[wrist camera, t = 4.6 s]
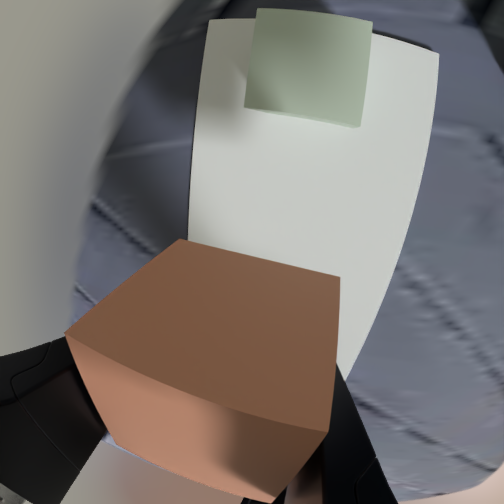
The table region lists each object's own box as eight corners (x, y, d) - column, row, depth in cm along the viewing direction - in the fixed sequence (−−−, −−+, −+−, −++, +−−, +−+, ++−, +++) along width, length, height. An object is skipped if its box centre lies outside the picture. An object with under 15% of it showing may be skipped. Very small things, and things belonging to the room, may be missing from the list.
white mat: (341, 383, 21) (340, 388, 20) (190, 342, 24) (187, 347, 23) (435, 56, 11) (439, 54, 10) (213, 22, 13) (209, 19, 13)
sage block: (352, 128, 13) (360, 126, 9) (268, 113, 14) (243, 107, 10) (363, 50, 11) (372, 21, 7) (279, 38, 12) (257, 8, 8)
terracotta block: (301, 386, 9) (270, 503, 5) (181, 350, 10) (116, 444, 6) (340, 277, 7) (328, 432, 3) (179, 238, 8) (64, 332, 4)
